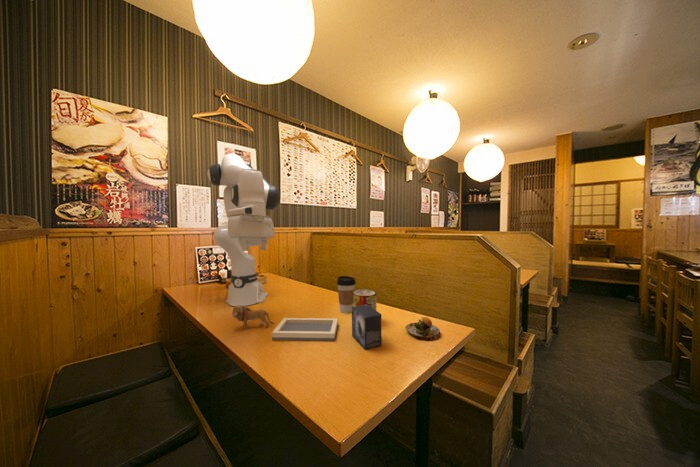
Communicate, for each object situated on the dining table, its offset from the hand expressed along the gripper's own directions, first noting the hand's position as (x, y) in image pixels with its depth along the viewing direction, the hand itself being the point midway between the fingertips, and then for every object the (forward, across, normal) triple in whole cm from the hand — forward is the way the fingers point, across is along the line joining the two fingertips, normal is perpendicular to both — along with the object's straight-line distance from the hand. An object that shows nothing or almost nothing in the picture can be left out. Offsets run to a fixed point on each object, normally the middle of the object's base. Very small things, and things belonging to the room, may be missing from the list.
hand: (254, 250), depth 88 cm
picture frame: (+31, -7, +15) cm, 35 cm away
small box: (+33, -8, +37) cm, 50 cm away
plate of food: (+34, -20, +54) cm, 67 cm away
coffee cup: (+30, -32, +21) cm, 49 cm away
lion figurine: (+29, -4, -6) cm, 30 cm away
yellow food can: (+32, -22, +33) cm, 50 cm away
